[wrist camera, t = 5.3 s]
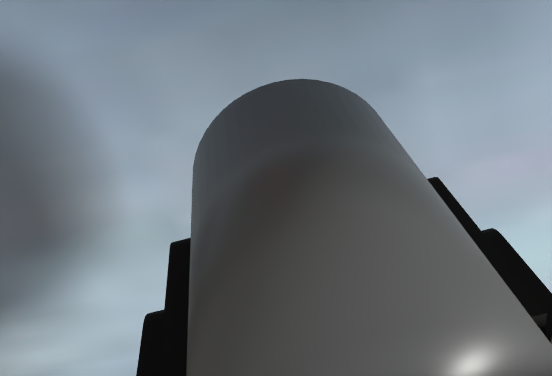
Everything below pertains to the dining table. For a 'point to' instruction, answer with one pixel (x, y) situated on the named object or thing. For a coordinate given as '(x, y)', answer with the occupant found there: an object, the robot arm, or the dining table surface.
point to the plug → (337, 253)
